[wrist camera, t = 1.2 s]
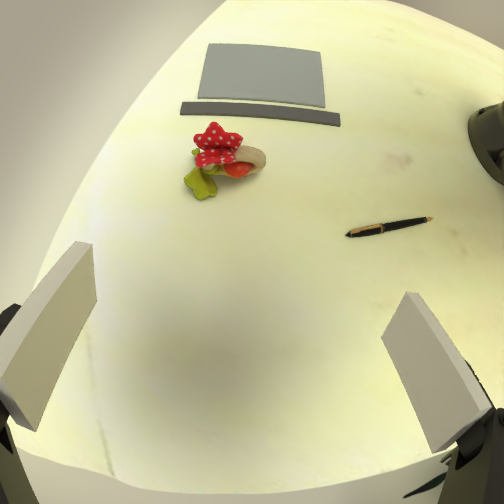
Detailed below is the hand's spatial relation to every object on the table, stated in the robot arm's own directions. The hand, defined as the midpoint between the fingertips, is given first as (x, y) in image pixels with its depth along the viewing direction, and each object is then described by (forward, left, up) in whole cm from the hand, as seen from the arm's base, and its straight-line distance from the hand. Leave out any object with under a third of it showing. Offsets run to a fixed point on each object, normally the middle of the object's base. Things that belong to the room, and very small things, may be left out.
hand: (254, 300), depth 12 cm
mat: (-1, -31, -23) cm, 39 cm away
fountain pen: (-18, -10, -24) cm, 32 cm away
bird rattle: (+3, -15, -24) cm, 28 cm away
